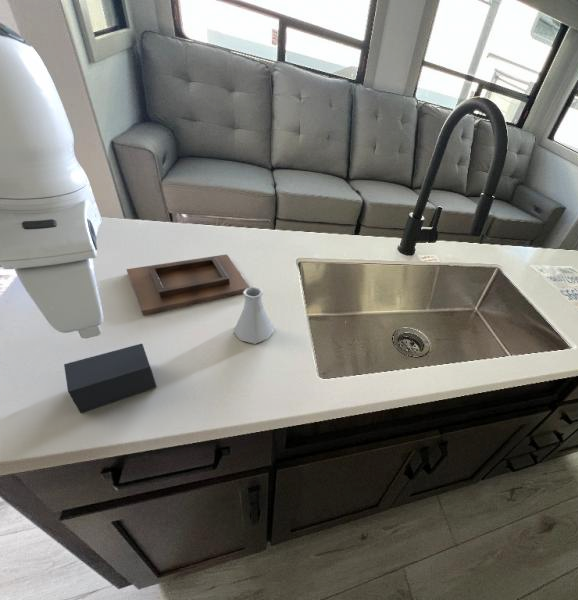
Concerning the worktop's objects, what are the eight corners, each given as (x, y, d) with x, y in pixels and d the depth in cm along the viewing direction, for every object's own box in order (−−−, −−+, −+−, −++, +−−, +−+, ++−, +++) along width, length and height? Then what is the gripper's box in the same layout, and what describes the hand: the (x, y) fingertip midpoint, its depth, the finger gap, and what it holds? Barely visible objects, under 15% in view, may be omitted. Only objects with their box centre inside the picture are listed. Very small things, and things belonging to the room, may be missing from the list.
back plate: (143, 315, 62) (139, 304, 61) (127, 273, 70) (124, 263, 69) (250, 291, 75) (250, 282, 73) (227, 258, 83) (226, 248, 81)
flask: (281, 329, 68) (282, 291, 62) (255, 349, 62) (253, 309, 56) (254, 314, 70) (252, 275, 64) (225, 332, 64) (221, 292, 58)
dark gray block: (80, 413, 46) (67, 392, 43) (76, 385, 49) (63, 363, 46) (156, 387, 52) (150, 366, 49) (149, 363, 55) (142, 343, 52)
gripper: (-5, 171, 37) (45, 271, 45) (-8, 265, 26) (58, 374, 35) (71, 170, 41) (105, 263, 49) (95, 252, 30) (133, 353, 39)
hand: (86, 310), depth 42 cm, fingers open, 8 cm apart
